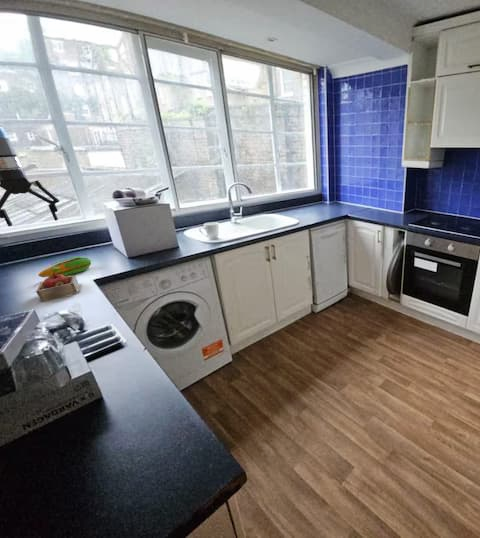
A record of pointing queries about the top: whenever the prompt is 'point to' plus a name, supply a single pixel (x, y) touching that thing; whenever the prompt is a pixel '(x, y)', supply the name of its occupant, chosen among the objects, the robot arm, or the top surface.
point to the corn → (68, 267)
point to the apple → (55, 279)
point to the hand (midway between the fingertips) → (34, 222)
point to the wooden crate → (58, 289)
